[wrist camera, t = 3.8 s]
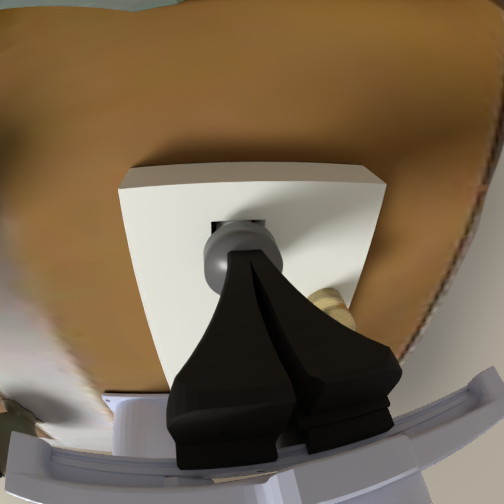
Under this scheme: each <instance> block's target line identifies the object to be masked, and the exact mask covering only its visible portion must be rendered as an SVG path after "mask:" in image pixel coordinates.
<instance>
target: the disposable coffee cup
mask: <svg viewBox="0 0 504 504" xmlns="http://www.w3.org/2000/svg"><path fill="white" fill-rule="evenodd" d="M182 1H184V0H0V9H7V8H17V7H32V6H80V7H95V8H107V9H116V10H124V11H131V12H137V11H142V10H146V9H151V8H157V7H163V6H169V5H175V4H179V3H180V2H182Z"/></svg>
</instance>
